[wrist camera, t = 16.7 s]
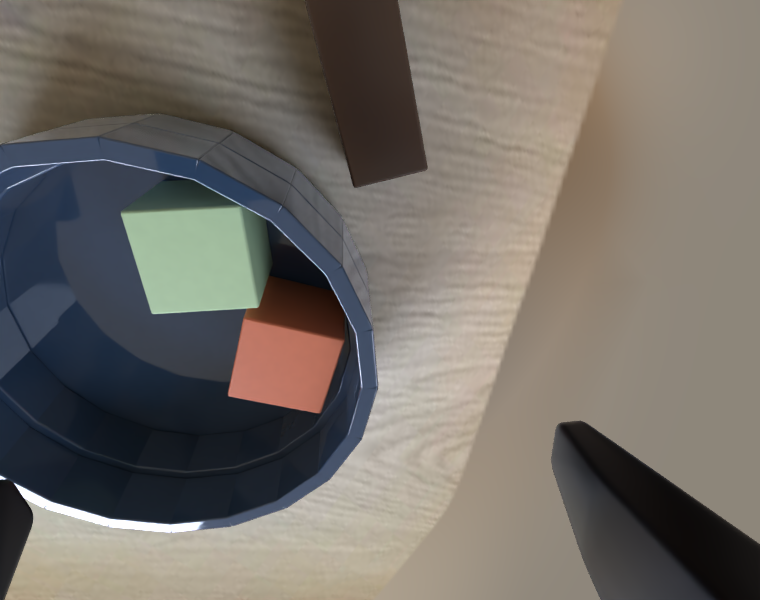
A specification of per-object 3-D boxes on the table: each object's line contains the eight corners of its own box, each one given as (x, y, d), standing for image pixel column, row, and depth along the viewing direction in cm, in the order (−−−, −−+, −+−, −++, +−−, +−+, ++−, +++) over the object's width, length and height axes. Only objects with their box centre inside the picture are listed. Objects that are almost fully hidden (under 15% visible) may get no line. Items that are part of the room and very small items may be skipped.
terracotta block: (345, 293, 19) (345, 340, 16) (324, 360, 21) (320, 415, 18) (260, 272, 19) (243, 317, 15) (244, 343, 20) (226, 397, 17)
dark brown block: (354, -175, 13) (357, -232, 10) (415, 151, 17) (428, 170, 15) (270, -152, 13) (252, -202, 10) (352, 167, 17) (353, 188, 15)
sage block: (259, 175, 17) (240, 205, 14) (273, 264, 18) (259, 308, 15) (160, 180, 17) (118, 211, 14) (183, 270, 18) (151, 315, 15)
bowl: (351, 96, 16) (355, 115, 12) (380, 423, 24) (389, 510, 19) (-99, 131, 16) (-269, 165, 11) (74, 454, 23) (11, 550, 19)
